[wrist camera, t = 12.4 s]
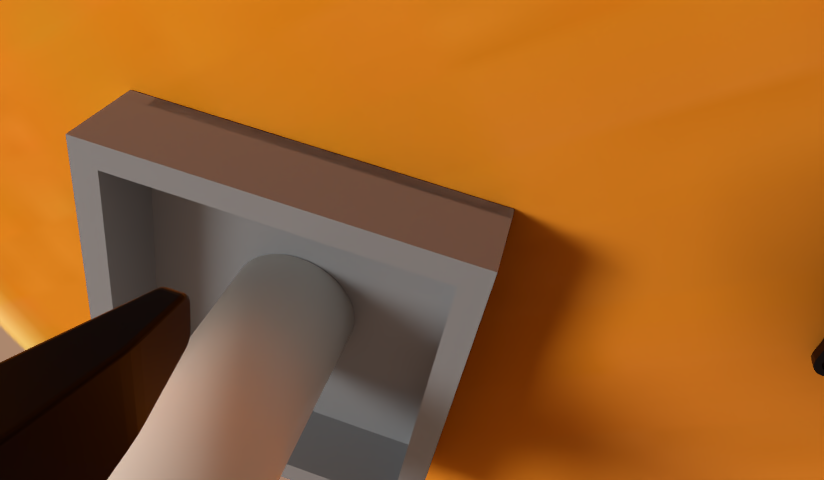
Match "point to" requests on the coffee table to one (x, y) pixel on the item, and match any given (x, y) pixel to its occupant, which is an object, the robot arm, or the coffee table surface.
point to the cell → (246, 377)
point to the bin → (306, 239)
